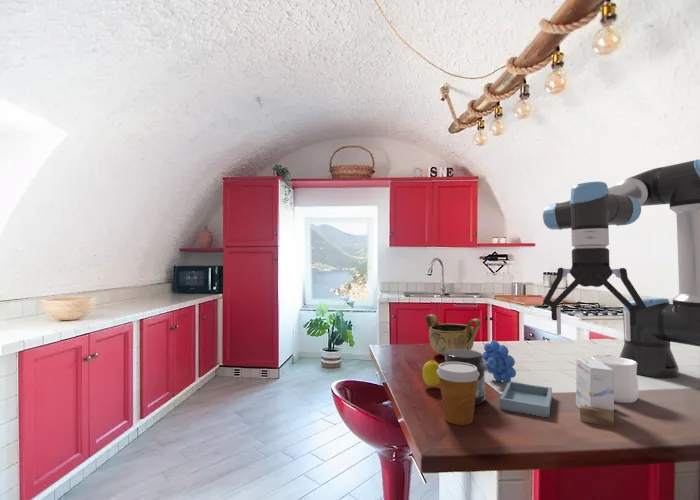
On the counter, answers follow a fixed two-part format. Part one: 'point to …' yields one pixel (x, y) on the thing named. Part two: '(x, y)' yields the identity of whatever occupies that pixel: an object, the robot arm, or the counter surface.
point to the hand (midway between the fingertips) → (591, 337)
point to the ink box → (594, 385)
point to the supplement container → (474, 359)
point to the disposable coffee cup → (458, 391)
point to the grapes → (499, 362)
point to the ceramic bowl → (451, 335)
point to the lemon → (431, 373)
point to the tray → (527, 399)
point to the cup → (622, 377)
